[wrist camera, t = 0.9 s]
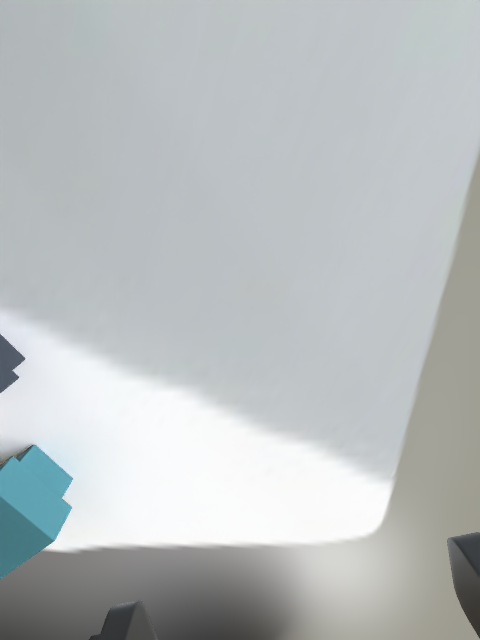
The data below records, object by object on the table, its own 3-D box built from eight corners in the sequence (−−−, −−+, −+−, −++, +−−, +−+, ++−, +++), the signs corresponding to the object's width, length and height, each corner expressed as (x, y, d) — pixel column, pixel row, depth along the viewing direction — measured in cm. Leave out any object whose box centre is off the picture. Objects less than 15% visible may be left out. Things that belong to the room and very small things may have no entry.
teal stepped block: (-17, 471, 30) (-75, 532, 24) (34, 431, 29) (-13, 485, 23) (36, 516, 31) (-6, 583, 26) (87, 479, 31) (54, 541, 25)
